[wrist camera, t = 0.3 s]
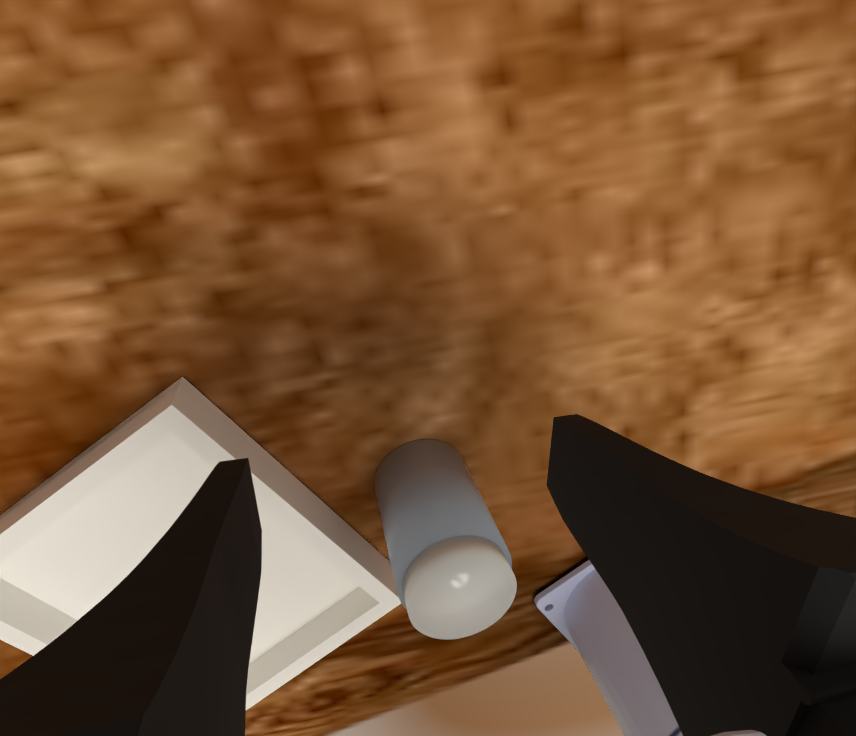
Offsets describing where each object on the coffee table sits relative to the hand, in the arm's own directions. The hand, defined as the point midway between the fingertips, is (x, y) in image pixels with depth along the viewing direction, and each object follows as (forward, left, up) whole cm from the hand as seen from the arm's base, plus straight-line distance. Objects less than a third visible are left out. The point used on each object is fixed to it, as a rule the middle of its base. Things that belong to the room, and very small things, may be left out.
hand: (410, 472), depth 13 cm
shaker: (-8, +3, -10) cm, 13 cm away
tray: (-4, +13, -10) cm, 17 cm away
